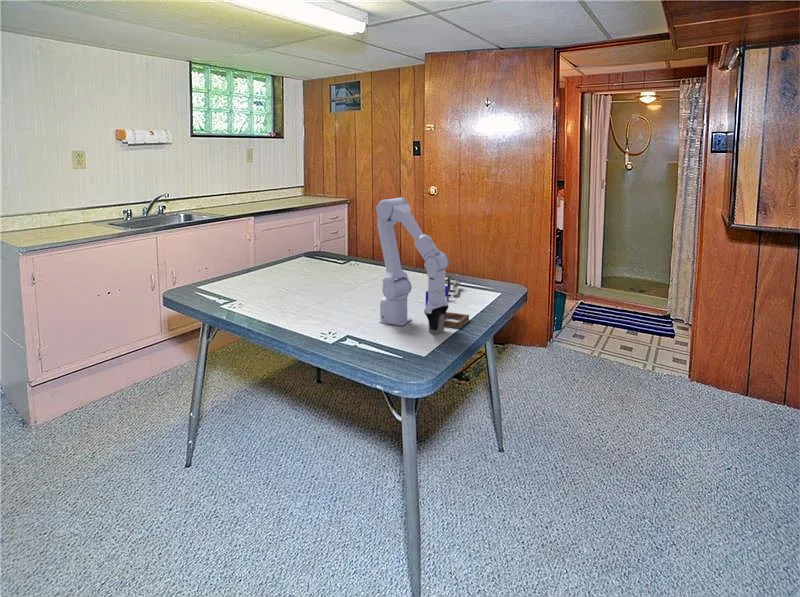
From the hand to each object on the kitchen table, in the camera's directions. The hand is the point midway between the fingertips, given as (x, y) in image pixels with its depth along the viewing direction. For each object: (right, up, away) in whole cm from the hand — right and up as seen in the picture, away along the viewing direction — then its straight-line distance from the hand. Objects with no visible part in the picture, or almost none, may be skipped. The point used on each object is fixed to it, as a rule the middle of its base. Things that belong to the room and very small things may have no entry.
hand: (436, 327), depth 183 cm
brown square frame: (+6, +1, +9) cm, 11 cm away
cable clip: (+3, +8, +32) cm, 34 cm away
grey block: (0, -1, 0) cm, 1 cm away
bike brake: (+6, +11, +45) cm, 47 cm away
